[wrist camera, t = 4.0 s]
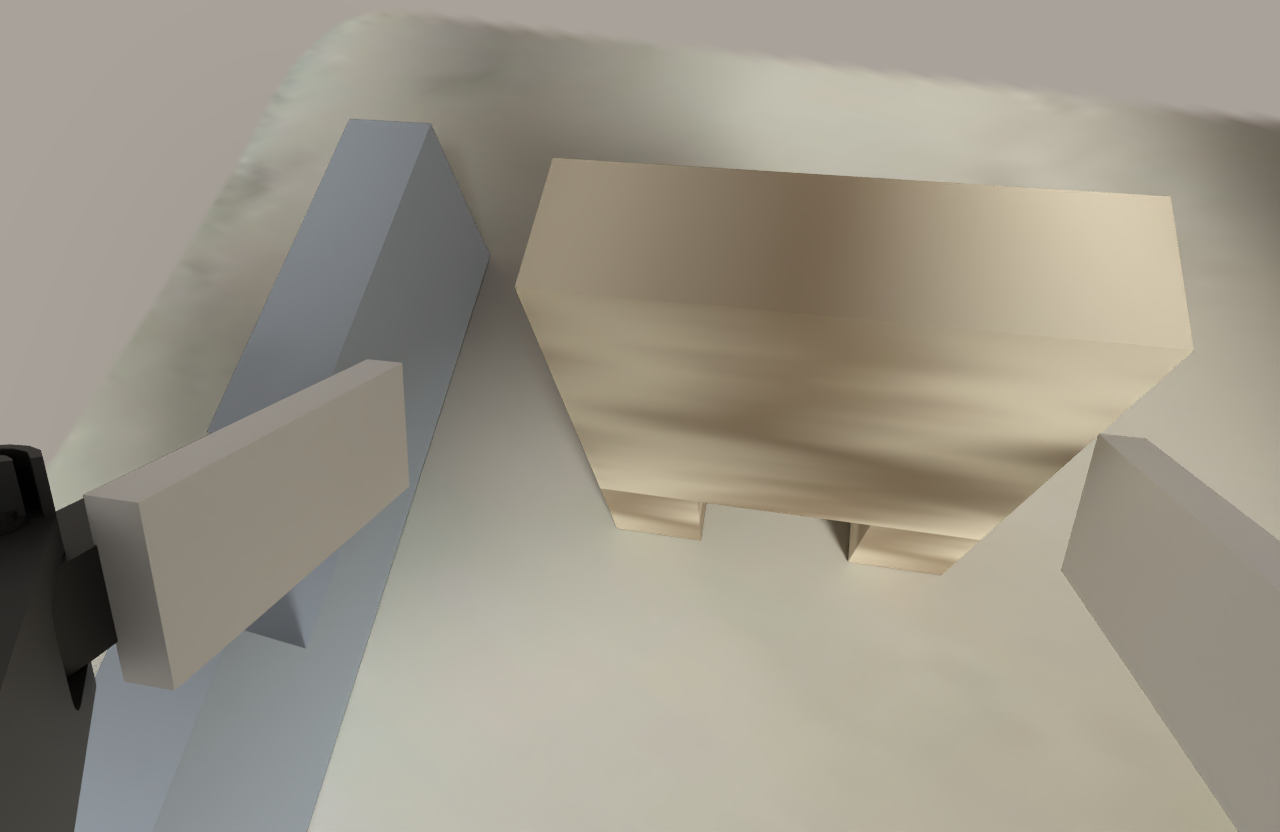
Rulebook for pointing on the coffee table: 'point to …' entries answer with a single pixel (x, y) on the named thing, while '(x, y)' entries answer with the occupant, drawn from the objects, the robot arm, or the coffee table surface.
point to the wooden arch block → (844, 342)
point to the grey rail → (358, 570)
